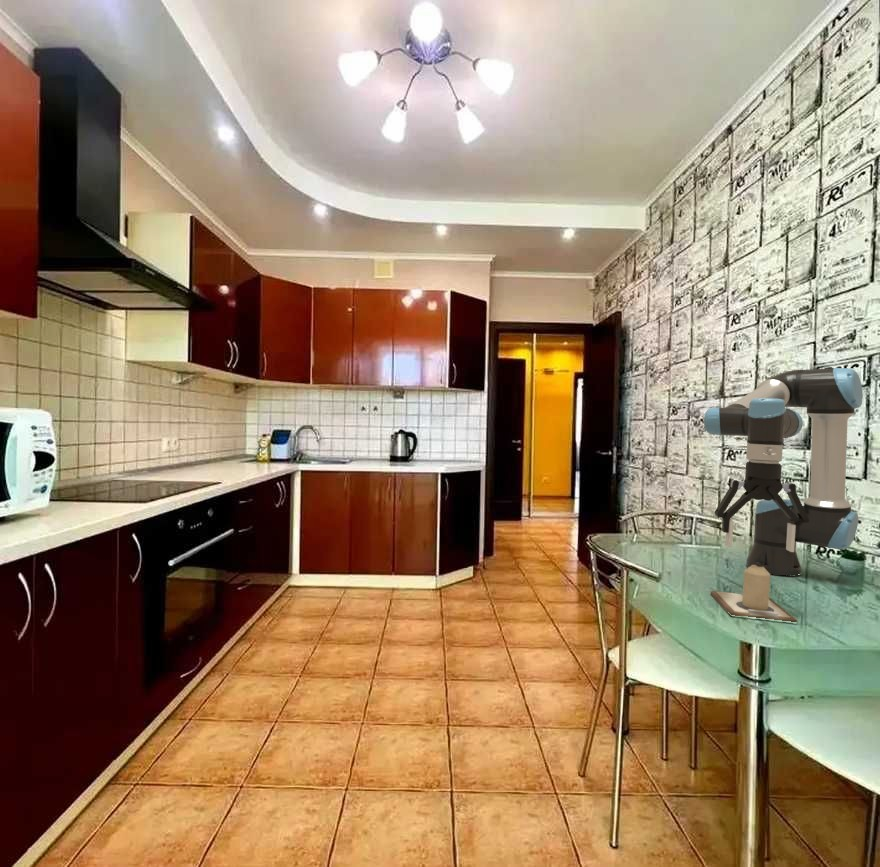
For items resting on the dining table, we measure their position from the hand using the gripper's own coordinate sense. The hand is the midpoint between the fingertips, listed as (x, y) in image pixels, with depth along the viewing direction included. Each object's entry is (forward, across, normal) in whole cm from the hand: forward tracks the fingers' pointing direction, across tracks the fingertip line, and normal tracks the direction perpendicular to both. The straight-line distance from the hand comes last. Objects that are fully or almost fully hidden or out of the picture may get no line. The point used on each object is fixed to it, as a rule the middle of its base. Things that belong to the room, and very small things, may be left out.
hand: (758, 548), depth 132 cm
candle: (+15, 0, 0) cm, 15 cm away
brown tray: (+16, 0, +3) cm, 16 cm away
